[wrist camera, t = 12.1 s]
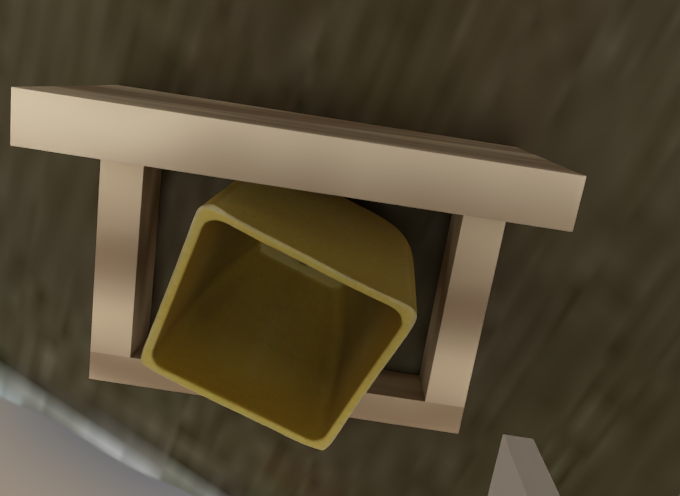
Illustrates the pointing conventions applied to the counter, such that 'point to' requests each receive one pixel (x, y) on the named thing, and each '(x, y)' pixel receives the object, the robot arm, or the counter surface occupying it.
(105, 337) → the board
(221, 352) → the flower pot
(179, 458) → the counter surface
